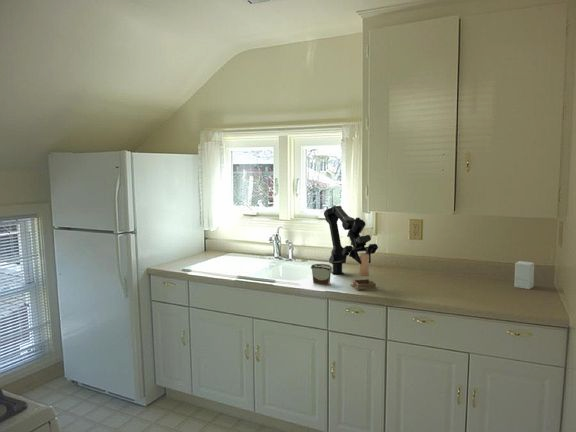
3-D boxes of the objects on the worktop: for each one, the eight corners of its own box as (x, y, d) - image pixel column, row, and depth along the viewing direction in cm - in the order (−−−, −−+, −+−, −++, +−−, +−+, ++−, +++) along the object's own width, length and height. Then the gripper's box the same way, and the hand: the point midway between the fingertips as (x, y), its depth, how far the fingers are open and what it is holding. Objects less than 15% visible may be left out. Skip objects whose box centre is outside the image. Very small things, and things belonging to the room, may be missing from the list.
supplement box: (533, 286, 225) (535, 262, 224) (529, 289, 220) (530, 265, 219) (518, 284, 231) (519, 260, 229) (513, 286, 225) (514, 262, 224)
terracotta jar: (359, 273, 230) (359, 253, 229) (368, 273, 229) (368, 253, 228) (359, 276, 225) (359, 255, 224) (369, 276, 224) (369, 255, 223)
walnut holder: (350, 285, 232) (350, 279, 232) (369, 284, 234) (369, 278, 234) (357, 291, 221) (357, 285, 221) (378, 289, 224) (378, 283, 223)
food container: (336, 283, 237) (336, 265, 236) (330, 286, 232) (330, 267, 231) (316, 280, 244) (316, 262, 242) (310, 282, 239) (310, 264, 237)
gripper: (344, 230, 225) (354, 255, 216) (376, 228, 231) (387, 253, 222) (338, 243, 234) (347, 267, 225) (369, 241, 240) (379, 264, 230)
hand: (365, 263), depth 225 cm, fingers closed on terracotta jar, 5 cm apart
